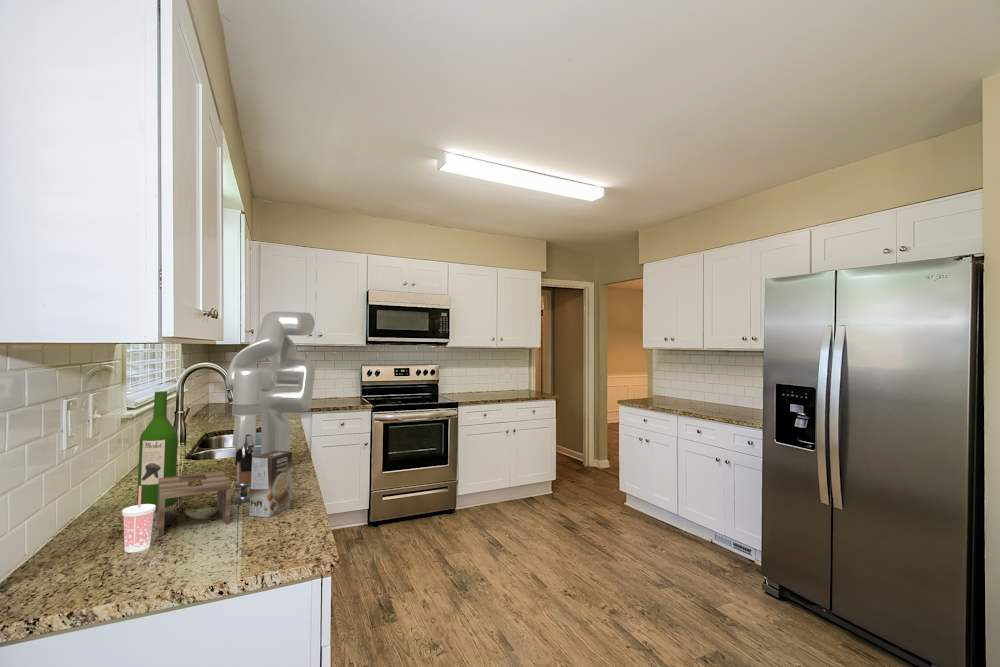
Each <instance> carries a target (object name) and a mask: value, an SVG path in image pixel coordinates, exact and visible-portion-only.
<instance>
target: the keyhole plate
mask: <svg viewBox="0 0 1000 667" xmlns="http://www.w3.org/2000/svg"><path fill="white" fill-rule="evenodd" d="M198 480H200V485H197V486H192V487H191V486H190V487H189V483H188V482H190V481H198ZM231 489H232V484H231V483H230V481H229V478H227V476H226V473H224V471H223V470H216V471H208V472H200V473H192V474H183V475H176V476H174V477H166V478H159V481H158V505H157V509H156V520H157V532H158V533H157V534H158V537H162V536H164V532H165V509H166V507H165V499H167V498H174V497H175V498H181V497H186V496H194V495H200V494H201V495H202V494H209V493H214V492H217V498H216V507H217V509H218V511H219V514H220V516H221V518H222V521H223V523H224V524H225V525H229V524H230V523H231V521H230V520H231V496H232V495H231V493H232V492H231V491H232V490H231Z"/></svg>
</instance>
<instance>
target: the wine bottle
mask: <svg viewBox="0 0 1000 667" xmlns="http://www.w3.org/2000/svg"><path fill="white" fill-rule="evenodd" d="M153 401H154V402H153V414H152V420H151V421H150V422H149V424H148V425H147V426H146V428H145V429H144V430H143V431H142V432H141V433H140V436H139V448H138V450H139V451H138V472H137V477H138V478H137V492H136V493H137V495H136V498H137V499H136V505H138V496H139V486H142V487H141V504H154V505H156V507H155V511H157V505H158V481H159V478H166V477H174V476H177V466H178V465H177V463H178V438H179V437H178V432H177V429H176V428H175V427H174V425H173V424H172V423H171V422H170V421H169V419H168V416H167V413H168V412H167V411H168V410H167V409H168V391H155V392H154V400H153ZM175 502H176V497H174V498H167V499H165V508H168V507H171V506H173V505H174V504H175Z"/></svg>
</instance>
